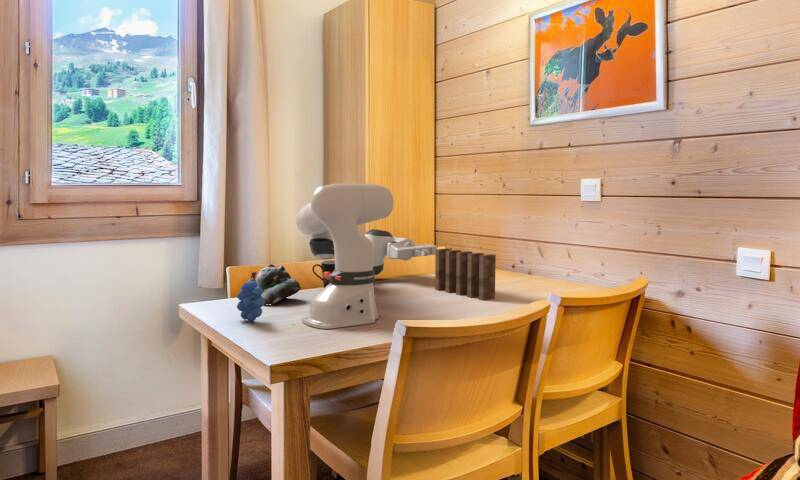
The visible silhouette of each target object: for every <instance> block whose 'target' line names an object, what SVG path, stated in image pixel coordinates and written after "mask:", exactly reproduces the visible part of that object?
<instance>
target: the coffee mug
mask: <svg viewBox="0 0 800 480" xmlns="http://www.w3.org/2000/svg"><path fill="white" fill-rule="evenodd" d="M320 263H321V264H319V263H318V264H317V263H316V264H314V265H313V266H312V269H311V270H312V273H313V274H314V275H315V276H316V277H317V278H318V279H320V280H321V281H322V284H323V289H324V288H325V287H326V286H327V285H328V284H330V279H331V278H330V279H325V277H323V275H324V272H330V273H331V274H332V273H333V271H334V269H335V259H334V260H333V259H331V260H330V259H329V260H327V259H326V260H322V261H321V262H320ZM317 266H318V267H319V268H320V269H321V274H322V276H320V275H318V274H317V273H316V271H315V267H317Z"/></svg>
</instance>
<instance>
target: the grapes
mask: <svg viewBox="0 0 800 480" xmlns="http://www.w3.org/2000/svg"><path fill="white" fill-rule="evenodd" d="M262 293H263V289H262V288H261V287H259V286H258V285H257V283H256V282H255V281H250V282H249V283H248V281H246V282H244V283H243V284H242V285H241V288H240V290H239V291H238V293H237V295H236V297H237V299H238V300H239V302H238V303H237V304H236V308H237V310H238V311H240V317H241V319H243V320H247V321H248V322H249V323H253V322H255V321H256V319H257V318H259V317H261V316H262V315H263V314H262V313H263V308H262V307H263V306H265V305H264V303H265V300H264V298H263V297H262V296H261V295H262Z"/></svg>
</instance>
